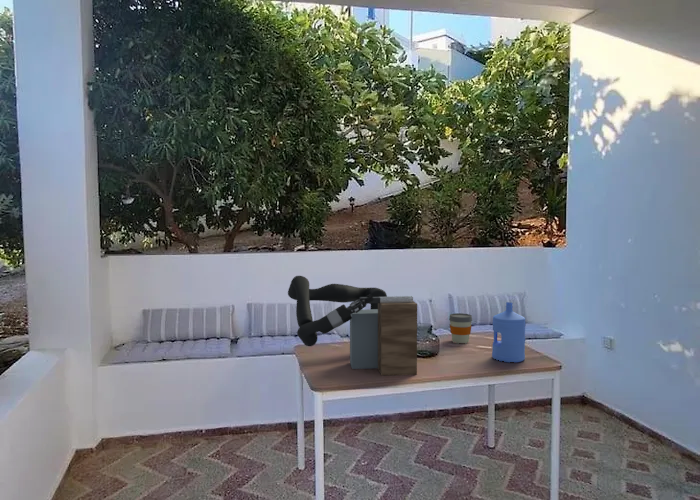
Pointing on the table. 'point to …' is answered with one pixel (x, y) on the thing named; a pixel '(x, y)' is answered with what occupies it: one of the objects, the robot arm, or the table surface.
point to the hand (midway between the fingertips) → (372, 296)
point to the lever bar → (390, 299)
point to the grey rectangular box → (364, 339)
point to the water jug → (509, 336)
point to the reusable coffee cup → (460, 327)
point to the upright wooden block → (397, 338)
